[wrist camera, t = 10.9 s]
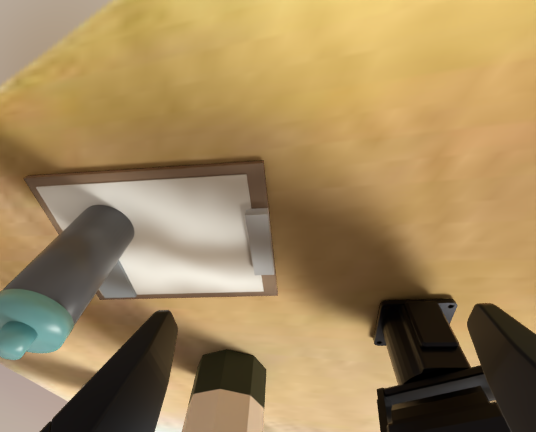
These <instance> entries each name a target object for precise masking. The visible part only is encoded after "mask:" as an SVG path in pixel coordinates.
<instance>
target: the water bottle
mask: <svg viewBox="0 0 536 432" xmlns="http://www.w3.org/2000/svg"><path fill="white" fill-rule="evenodd" d="M133 237H134V227H133V225H132V223H131V221H130V220H129V219H128V217H127V216H125V215H124V214H123V213H122V212H120V211H119V210H117V209H115V208H113V207H110V206H106V205H93V206H90V207H88V208H86V209H85V210H84V211H83V212H82V213H81V214H80V215H79V216H78V217H77V218H76V219H75V220H74V221H73V222H72V223H71V224H70V225H69V226H68V227H67V228H66V229H65V230H64V231H63V232H62V233H61V234H60V235H59V236H58V237H57V238H55V239H54V240H53V241H52V242H51V243H50V244H49V245H48V246H47V247H46V248H45V249H44V250H43V251H42V252H41V253H40V254H39V255H38V256H37V257H36V258H35V259H34V260H33V261H32V262H31V263H30V264H29V265H28V266H27V267H26V268H25V269H24V270H23V271H22V272H21V273H20V274H19V275H17V276H16V277H15V278H14V279H13V280H12V281H11V282H10V283H9V284H8V285H7V286H6V287H5V288H4V289H3V290H2V291H1V292H0V357H2V358H5V359H10V360H17V359H20V358H21V357H22V356H23V355H24V354H25V352H32V353H49V352H53V351H56V350H58V349H59V348H60V347H61V346H62V344H63V343H64V341H65V340H66V338H67V337H68V335H69V334H70V332H71V331H72V329H73V327H74V325H75V323H76V322H77V320H78V319H79V318H80V316H81V315H82V313H83V312H84V310H85V309H86V307H87V306H88V304H89V303H90V301H91V300H92V298H93V297H94V295H95V294H96V293H97V291H98V290H99V288H100V287H101V285H102V284H103V282H104V281H105V279H106V278H107V276H108V275H109V273H110V272H111V270H112V269H113V267H114V266H115V265H116V263H117V262H118V260H119V259H120V257H121V256H122V254H123V253H124V251H125V250H126V248H127V247H128V245H129V244H130V242H131V241H132V239H133Z"/></svg>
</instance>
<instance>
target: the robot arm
mask: <svg viewBox="0 0 536 432" xmlns="http://www.w3.org/2000/svg"><path fill="white" fill-rule="evenodd" d="M456 308H457V304H456V302H455V301H454V300H453V299H435V300H387V301H383V302H381V303H380V307H379V312H378V318H377V323H376V328H375V333H374V338H373V340H374V344H375V345H378V346H387V349H388V352H389V356H390V359H391V362H392V366H393V369H394V372H395V376H396V379H397V382H398V385H397V386H393V387H389V388H385V389H384V388H380V389H377V395H378V399H377V405H378V413H379V422H380V430H381V432H536V334H535V333H533V332H532V331H531V330H529V329H528V328H526V327H525V326H524V325H522V324H521V323H520V322H518V321H517V320H515V319H514V318H513V317H511V316H510V315H508V314H507V313H506V312H504V311H503V310H502V309H500V308H499V307H497V306H496V305H494V304H491V303H479V304H476V305H475V306H474V308H473V310H472V312H471V314H470V316H469V319H468V321H467V327H468V331H469V333H470V336H471V339H472V342H473V344H474V347H475V350H476V353H477V355H478V358H479V361H480V364H481V365H480V366H476V367H472V368H471V366H470V364H469V363H468V361H467V359H466V357H465V355H464V353H463V351H462V349H461V347H460V345H459V342H458V340H457V338H456V336H455V334H454V333H453V331H452V329H451V327H450V325H449V324H450V322H451V320H452V317H453V315H454V312H455V310H456ZM177 333H178V328H177V324H176V322H175V320H174V317H173V315H172V313H171V312H170V311H169V310H159V311H156V312H155V313H154V314H153V315H152V316H151V317H150V318H149V319H148V320H147V321H146V322H145V323H144V324H143V325H142V326H141V327H140V328H139V329H138V330H137V331H136V332H135V333H134V335H133V336H132V337H131V338H130V339H129V340H128V341H127V342H126V343H125V344H124V345H123V346H122V347H121V348H120V349H119V350H118V351H117V352H116V353H115V354H114V355H113V356H112V357H111V358H110V359H109V360H108V362H107V363H106V364H105V365H104V366H103V367H102V368H101V369H100V370H99V371H98V372H97V373H96V374H95V375H94V376H93V377H92V378H91V379H90V380H89V381H88V382H87V383H86V384H85V385H84V386H83V387H82V389H81V390H80V391H79V392H78V393H77V394H76V395H75V396H74V397H73V398H72V399H71V400H70V401H69V402H68V403H67V404H66V405H65V406H64V407H63V408H62V409H61V411H59V413H57V414H56V416H55V417H54V418H53V419H52V422H49V423H48V424H47V425H46V426H45V427H44V428H43V429H42V430H41V431H40V432H155V428H156V425H157V421H158V418H159V414H160V411H161V407H162V404H163V400H164V397H165V393H166V390H167V386H168V382H169V377H170V372H171V367H172V361H173V355H174V350H175V344H176V339H177ZM492 400H496V403H495V402H493V403H490V402H489V401H492Z"/></svg>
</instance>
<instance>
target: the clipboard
mask: <svg viewBox="0 0 536 432" xmlns="http://www.w3.org/2000/svg"><path fill="white" fill-rule="evenodd" d="M24 180H25V182H26V183H27V185H28V186H29V188H30V190H31V191H32V193H33V194H34V196H35V198H36V199H37V201H38V202H39V204H40V205H41V207H42V209H43V210H44V212H45V213H46V215H47V217H48V218H49V220H50V221H51V223H52V224H53V226H54V228H55V229H56V231H57V232H58V234H59V235H60V234H61V233H62V232H63V231H64V230H65V229H66V228H67V227H68V226H69V225H70V224H71V223H72V222H73V221H74V220H75V219H76V218H77V217H78V216H79V215H80V214H81V213H82V212H83V211H84V210H85V209H86V208H88V207H90V206H93V205H106V206H110V207H113V208H115V209H117V210H119V211H120V212H122V213H123V214H124V215H125V216H127V217H128V219H129V220H130V221H131V223H132V225H133V227H134V237H133V239H132V241H131V242H130V244H129V245H128V247H127V248H126V250H125V251H124V253H123V254H122V256H121V257H120V259H119V260H118V262H117V263H116V265H115V266H114V267H113V269H112V270H111V272H110V273H109V275H108V276H107V278H106V279H105V281H104V282H103V284H102V285H101V287H100V288H99V290H98V291H97V293H96V294H97V296H98V297H99V299H100V300H106V299H150V298H193V297H237V296H278V290H277V281H276V272H275V262H274V253H273V244H272V235H271V225H270V216H269V207H268V198H267V188H266V179H265V170H264V161H250V162H235V163H219V164H204V165H188V166H173V167H158V168H142V169H127V170H111V171H96V172H81V173H65V174H50V175H34V176H27V177H25V178H24Z"/></svg>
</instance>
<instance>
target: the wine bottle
mask: <svg viewBox="0 0 536 432" xmlns="http://www.w3.org/2000/svg"><path fill="white" fill-rule="evenodd" d="M265 385H266V369H265V368H264V367H263V365H262V364H261V363H260V362H259V361H258V360H257V359H256V358H255V357H254V356H252V355H248V354H244V353H239V352H235V351H231V350H223V351H218V352H214V353H210V354H206V355H203V356H202V358H201V361H200V363H199V366H198V368H197V372H196V376H195V380H194V384H193V389H192V393H191V397H190V401H189V405H188V409H187V413H186V417H185V421H184V425H183V429H182V432H263V423H264V404H265Z"/></svg>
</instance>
